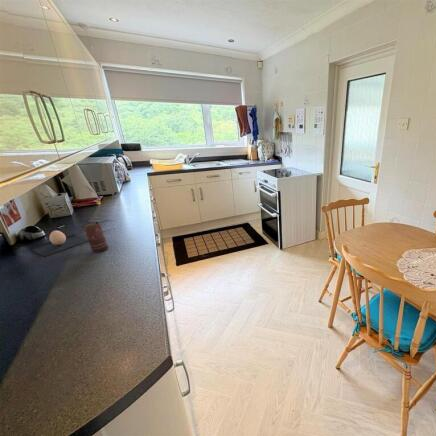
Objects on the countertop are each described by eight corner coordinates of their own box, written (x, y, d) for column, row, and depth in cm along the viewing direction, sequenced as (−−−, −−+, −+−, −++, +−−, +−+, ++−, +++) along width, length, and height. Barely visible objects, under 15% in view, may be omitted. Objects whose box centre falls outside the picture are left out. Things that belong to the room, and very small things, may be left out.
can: (110, 245, 117) (102, 220, 112) (105, 251, 111) (96, 225, 106) (96, 247, 115) (86, 221, 110) (90, 253, 110) (80, 226, 104)
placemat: (44, 256, 107) (44, 256, 107) (29, 249, 113) (29, 248, 113) (89, 240, 122) (89, 240, 122) (74, 235, 129) (73, 234, 128)
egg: (66, 240, 121) (61, 227, 119) (69, 243, 118) (64, 230, 115) (51, 245, 117) (45, 231, 114) (54, 248, 114) (48, 234, 111)
